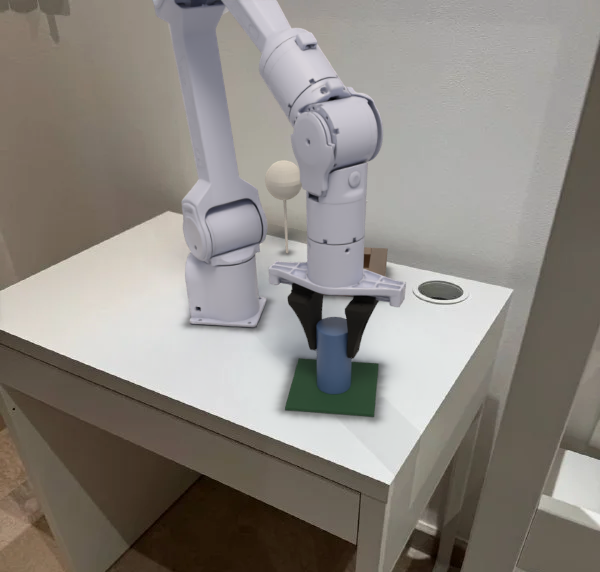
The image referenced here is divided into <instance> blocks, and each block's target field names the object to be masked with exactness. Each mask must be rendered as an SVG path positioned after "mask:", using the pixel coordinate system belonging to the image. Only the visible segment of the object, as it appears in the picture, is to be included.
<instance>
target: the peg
mask: <svg viewBox="0 0 600 572" xmlns="http://www.w3.org/2000/svg"><path fill="white" fill-rule="evenodd" d="M347 341H348V329H347V321H346V317H342V316H341V317H340V316H328V317H323V318H322V320H320V321H319V322H318V323H317V325H316V345H317V349H316V359H317V387H318V388H319V389H320V390H321V391H322V392H324V393H327V394H341V393H344V392H346V391H347V390H348V389H349V388H350V386H351V365H352V362H353V359H351V358H347Z"/></svg>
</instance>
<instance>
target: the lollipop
mask: <svg viewBox="0 0 600 572" xmlns="http://www.w3.org/2000/svg"><path fill="white" fill-rule="evenodd" d="M264 183H265V187H266V189H267V191H268V193H269V194H270V195H271V197H273V198H274V199H276V200H280V201H283V223H284V244H285V246H284V247H285V248H284V249H285V254H289V236H288V235H289V234H288V211H287V210H288V209H287V201H289V200H291V199H294V198H295V197H296V196H297V195H298V194H299V193H300V192H301V189H302V183H301V182H300V170H299V166H298V165H297V164H295V163H294V162H293V161H290V160H286V159H285V160H284V159H282V160H278V161H276V162H273V163H272V164H271V165H270V166H269V167H268V169H267V171H266V173H265V175H264Z"/></svg>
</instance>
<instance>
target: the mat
mask: <svg viewBox="0 0 600 572" xmlns="http://www.w3.org/2000/svg"><path fill="white" fill-rule="evenodd" d="M379 365H380V363H378V362H363V361H362V362H361V361H352V365H351V386H350V388H349V389H348V390H347V391H346V392H344V393H341V394H327V393H324V392H322V391H321V390H320V389H319V388H318V387H317V358H301V357H300V358H298V359H297V362H296V366H295V370H294V374H293V376H292V377H293V378H292V381H291V384H290V387H289V392H288V396H287V399H286V403H285V406H284V410H285V411H291V412H293V411H294V412H306V413H318V414H331V415H344V416H357V417H370V418H375V413H376V412H375V410H376V401H377V400H376V398H377V389H378V377H379V367H380V366H379Z"/></svg>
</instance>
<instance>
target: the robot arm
mask: <svg viewBox="0 0 600 572" xmlns="http://www.w3.org/2000/svg"><path fill="white" fill-rule="evenodd" d="M151 1H152V3H153V7H154V13H155V16H156V17H157V18H158V19H160V20H162V21H164V22H165V23H167V25H168V30H169V35H170V40H171V45H172V52H173V56H174V61H175V66H176V71H177V75H178V77H177V78H178V82H179V86H180V92H181V97H182V103H183V108H184V112H185V118H186V123H187V127H188V132H189V133H188V134H189V138H190V143H191V149H192V154H193V159H194V164H195V170H196V175H197V180H196V182H195V183H194V185H192V187H191V189H190V190H189V191H188V192H187V193H186V194H185V196H184V197H183V198H182V200H181V202H180V203H181V211H182V234H183V238H184V241H185V244H186V246H187V248H188V250H189V251H190V252H189V253H188V255H187V257H186V261H185V264H184V265H185V266H184V281H185V287H186V293H187V301H188V306H189V312H190V318H189V323H190V324H193V325H209V326H227V327H241V328H242V327H243V328H256V327H257V326H258V323H259V322H260V318H261V316H262V313H263V312H264V309H265V306H266V304H267V302H268V298H267V297H266V296H259V283H258V272H257V257H256V254H257V253H260V252H261V248H260V247H261V245H260V244H263V243H264V242H265V241H266V238H267V234H268V229H269V227H268V218H267V215H266V212H265V210H264V208H263V205H262V202H261V199H260V194H259V189H258V188H257V187H256V186H254V184H252V183H250V182H248V181H247V180H245V179H244V178H242V177H241V176H240V173H239V169H238V162H237V156H236V148H235V142H234V136H233V131H232V130H233V129H232V124H231V117H230V111H229V104H228V99H227V93H226V87H225V80H224V74H223V73H224V72H223V67H222V62H221V61H222V60H221V56H220V49H219V43H218V37H217V28H218V25H219V23H220V20H221V19H222V16H224V15H225V14H227V13H230V14H231V15H232V17H233V18H234V19H235V21H236V22H237V23H238V25H239V26H240V27H241V28H242V30H243V32H245V34H246V35H247V37H248V38H249V39H250V40H251V42H252V43H253V44H254V46H255V47H256V48H257V50H258V51H259V52H260V54H261V55H260V57H259V63H258V72H259V75H260V77H261V79H262V81H263V82H264V84H265V85H266V88H267V89H268V90H269V92H270V93H271V95H272V96H273V98H274V100H275V101H276V103H277V105H278V106H279V108H280V109H281V111H282V113H283V114H284V116H285V117H286V119H287V120H288V122H289V123H290V125H291V127H292V128H293V131H292V133H290V142H291V148H292V152H293V155H294V157H295V160H296V163H297V166H298V168H299V170H300V182H301V183H302V187H301V189H302V190H304V191H305V199H306V200H305V201H306V202H305V204H306V205H305V207H306V261H282V260H281V261H280V260H275V261H274V262H273V263H272V264H271V265H270V266H268V268H267V270H268V282H269V285H272V286H280V285H281V284H284V285H290V286H291V290H290V293H289V294H288V295H287V304H288V306H289V307H290V308H291V309H292V311H293V312H294V314H295V315H296V317H297V319H298V321H299V323H300V324H301V327H302V329H303V332H304V334H305V338H306V341H307V344H308V348H309V350H311V351H314V352H315V351H317V345H316V325H317V323H318V322H319V321H320V320H322V319H323V306H324V296H336V295H350V296H349V297H352V299H351V300H350V301H349V302H348V304H347V305H346V306H345V308H344V314H345V319H346V321H347V329H348V341H347V358H351V359H352V360H353V359H355V357H356V356H357V354H358V353H359V351H360V347H361V343H362V339H363V336H364V332H365V330H366V328H367V325H368V322H369V321H370V318H371V317H372V314H373V313H374V311H375V308H376V307H377V305H378V303H379V302H385V303H388V304H389V306H390V307H394V308H400V307H401V305H402V304H403V303H404V301H405V299H406V288H407V282H406V281H403V280H397V279H395V278H394V279H393V278H392V277H391V278H390V277H387V276H386V277H385V276H382V275H379V274H377V273H374V272H371V271H368V270H366V269H363V264H364V247H365V237H366V217H367V216H366V215H367V194H368V192H367V190H368V172H369V171H368V169H369V168H368V165H369V162H371V161H373V160H374V159H375V158H376V157H377V156H378V154H379V153H380V151H381V149H382V145H383V142H384V141H383V140H384V126H383V125H384V124H383V120H382V116H381V114H380V111H379V109H378V107H377V105H376V102H375V100H374V98H372V97H371V96H370V95H369V94H367V93H365V92H357V91H356V90H355V89H354V88H353V86H346V85H345V83H344V82H343V81H342V79H341V77H340V76H339V75H338V73H337V72H336V70H335V69H334V67H333V65H332V63H331V62H330V61H329V59H328V58H327V56H326V55H325V53H324V52H323V50H322V48H321V47H320V45H319V44H318V40H317V38H316V37H315V35H314V34H313V32H311V31H308V30H307V29H305V28H303V27H302V28H301V27H292V26H291V24H290V23H289V21H288V18H287V17H286V15H285V13H284V12H283V9H282V8H281V5H280V4H279V2H278V0H151ZM324 294H326V295H324Z"/></svg>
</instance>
